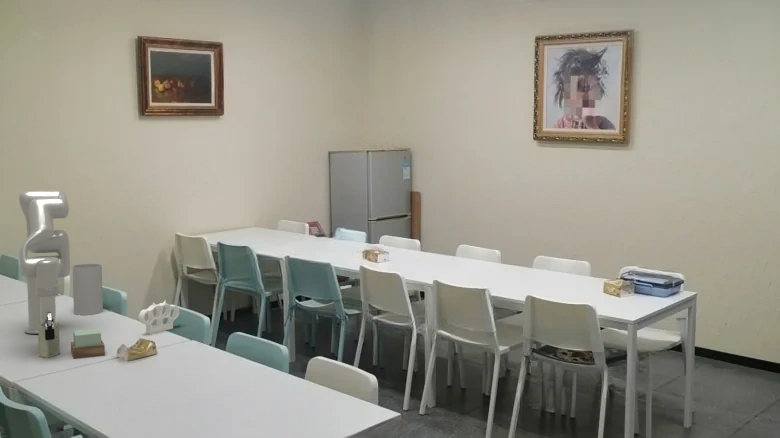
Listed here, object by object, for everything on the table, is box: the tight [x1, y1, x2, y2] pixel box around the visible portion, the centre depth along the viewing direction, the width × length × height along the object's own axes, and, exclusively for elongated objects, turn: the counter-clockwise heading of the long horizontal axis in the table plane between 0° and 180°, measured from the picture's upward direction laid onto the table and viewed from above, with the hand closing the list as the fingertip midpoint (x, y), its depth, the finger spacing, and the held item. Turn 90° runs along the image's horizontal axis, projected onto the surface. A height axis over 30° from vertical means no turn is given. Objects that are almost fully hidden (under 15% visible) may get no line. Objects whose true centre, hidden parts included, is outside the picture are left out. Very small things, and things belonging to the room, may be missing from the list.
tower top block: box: [72, 327, 102, 347], centre depth 289 cm, size 9×9×4 cm
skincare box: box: [38, 322, 61, 358], centre depth 286 cm, size 6×4×12 cm
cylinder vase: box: [72, 263, 104, 317], centre depth 350 cm, size 12×12×25 cm
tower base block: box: [70, 339, 106, 360], centre depth 289 cm, size 11×11×4 cm
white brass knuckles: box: [138, 300, 180, 335], centre depth 320 cm, size 3×18×15 cm, turn 142°
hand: (49, 337), depth 286 cm, fingers open, 9 cm apart
